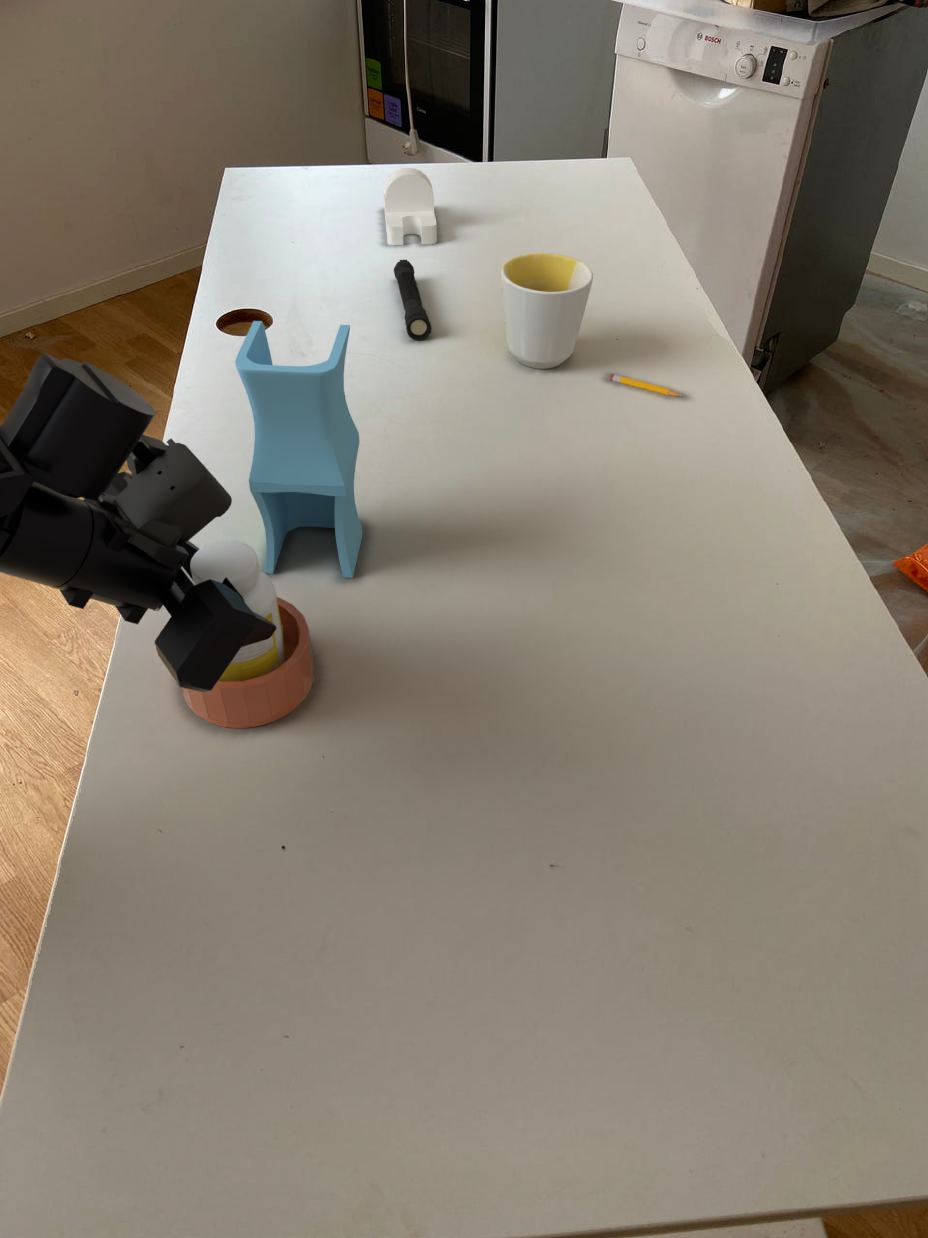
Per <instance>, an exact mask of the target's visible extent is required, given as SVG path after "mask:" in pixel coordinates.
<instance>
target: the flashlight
mask: <svg viewBox="0 0 928 1238" xmlns="http://www.w3.org/2000/svg"><path fill="white" fill-rule="evenodd" d="M393 273H394V278H395V279H396V281H397V286H398V290H399V294H400V298H401V301H402V305H403V310H404V322H405V323H404V324H405V329H406V333H407V336H408V337H409V338H410V339H411V340H414V341H419V342H420V341H424V340H426V339H427V338H428V337H430V334H431V333H432V328H433V327H432V324H431V321H430V318H429V316H428V312H427V310H426V309H425V308H424V307H423V303H422V298H421V294H420V291H419V287H418V283H417V281H416V277H415V268H414V266H413V264H412V263H411V262H410V261H409V260H408V259H407V258H406V259H399V261H397V262H396V264H395V266H394V267H393Z"/></svg>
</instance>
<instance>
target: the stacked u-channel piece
mask: <svg viewBox="0 0 928 1238" xmlns="http://www.w3.org/2000/svg"><path fill="white" fill-rule="evenodd" d="M350 330H351V324H340V325H339V326H338V330H337V333H336V336H335V339H334V342H333V345H332V348H331V351H330V354H329V357H328V359H327V360H325V361H323V362H320V363H316V364H311V365H295V366H294V365H276V364H275V365H274V364H273V359H272V356H271V351H270V346H269V340H268V336H267V333H266V332H267V331H266V329H265V325H264V322H263V321H262V320H253V321H252V324H251V325H250V327H249V330H248V331H247V333H246V336H245V337H244V340H243V342H242V344H241V347H240V349H239V350H238V353H237V355H236V358H235V361H234V365H235V368H236V371H237V374H238V375H239V378H240V380H241V382H242V385H243V387H244V390H245V392H246V396H247V399H248V401H249V402H248V403H249V405H250V409H251V413H252V418H253V423H254V442H253V443H254V445H253V453H252V459H251V460H252V461H251V466H250V471H249V477H248V486H249V492H250V493H251V496H252V497H253V499H254V502H255V504H256V506H257V509H258V511H259V513H260V516H261V519H262V523H263V527H264V533H265V541H266V542H265V544H266V545H265V550H266V551H265V563H264V564H265V565H264V573H265V574H266V575H267V574H268V575H273V574H274V573H275V570H276V567H277V564H278V560H279V557H280V554H281V550H282V547H283V544H284V542H285V538H286V536H287V534H288V533H289V532H291V531H293V530H295V529H297V528H304V527H306V528H329V529H334V532H335V533H334V534H335V542H336V548H337V555H338V560H339V565H340V569H341V575H342V578H343V579H353V578H354V574H355V570H356V565H357V562H358V557H359V553H360V548H361V543H362V538H363V527H362V523H361V520H360V518H359V517H360V516H359V514H358V509H357V504H356V499H355V474H356V466H357V458H358V452H359V447H360V443H361V442H360V432H359V430H358V428H357V426H356V424H355V421H354V420H353V418H352V414H351V413H350V410H349V406H348V403H347V399H346V392H345V364H346V355H347V350H348V349H347V348H348V342H349V337H350Z"/></svg>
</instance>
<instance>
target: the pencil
mask: <svg viewBox="0 0 928 1238" xmlns="http://www.w3.org/2000/svg"><path fill="white" fill-rule="evenodd" d="M609 381H611V382H615V383H619V384H622V385H626V386H630V387H635V388H638V389H642V390H646V391H650V392H653V393H658V394H662V395H665V396H669V397H683V395H682V394H681V393H678V392H676V391H675V390H673V389H670V388H668V387H664V386H661V385H656V384H653V383H648V382H644V381H641V380H638V379H637V380H636V379H633V378H629V377H625V376H621V375H617V374H614V373H612V374H611V375H610V377H609Z"/></svg>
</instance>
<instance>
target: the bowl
mask: <svg viewBox="0 0 928 1238" xmlns="http://www.w3.org/2000/svg"><path fill="white" fill-rule="evenodd" d="M277 601H278V608H279V614H280V621H281V627H282V634H283V641H284V648H285V655H286V662H285V663H283V664H282V665H281V666H280V667H279V668H277V669H276V670H274V671H272V672H270V673H268V674H266V675H264V676H261V677H257V678H253V679H249V680H245V681H227V682H223V681H218V682H217V683H216V684H215V686H214V687H213V689H212V690H211V691H207V692H200V691H195V690H191V689H186V688H182V687H180V689H181V692H182V695H183V698H184V701H185V703H186V704H187V706H188V707H189V709H190V710H191V711H192V712H193V713H194V714H195V715H196V716H197V717H198V718H201V719H202V720H204V721H205V722H207V723H209V724H213V725H216V726H217V727H218V726H219V727H224V728H232V729H246V728H256V727H259V726H260V727H261V726H263V725H267V724H270V723H272V722H275V721H278V720H280V719H281V718H284V717H285V716H287V715H288V714H290V713H292V711H294V710H295V709H297V708H298V706H299V705H301V704H302V702H304V700H305V699H306V697H307V696H308V694H309V693H310V690H311V689H312V686H313V683H314V677H315V669H314V666H315V663H314V656H313V649H312V641H311V635H310V634H311V633H310V628H309V626H308V622H307V620H306V617H305V616H304V615H303V613H302V612H301V611H300V610H299V609H298V608H297V607H296V606H295V605H294V604H292V603H290V602H289V601H287V600H284V599H283V598H280V597H279V596H277Z"/></svg>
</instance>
